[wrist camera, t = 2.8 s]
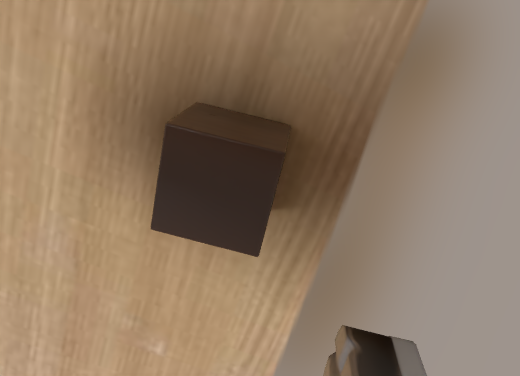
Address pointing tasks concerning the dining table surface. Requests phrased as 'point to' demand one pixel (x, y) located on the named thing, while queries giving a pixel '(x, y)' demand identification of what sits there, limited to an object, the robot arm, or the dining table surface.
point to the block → (219, 177)
